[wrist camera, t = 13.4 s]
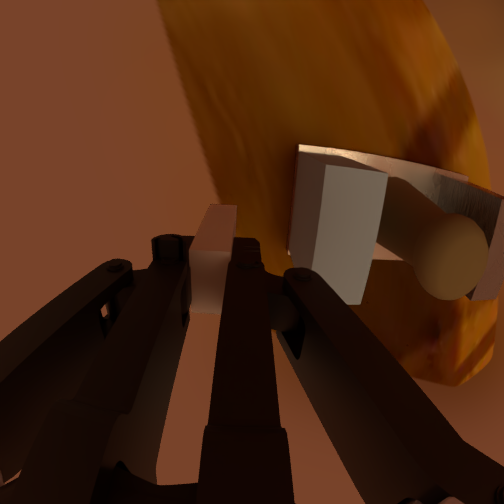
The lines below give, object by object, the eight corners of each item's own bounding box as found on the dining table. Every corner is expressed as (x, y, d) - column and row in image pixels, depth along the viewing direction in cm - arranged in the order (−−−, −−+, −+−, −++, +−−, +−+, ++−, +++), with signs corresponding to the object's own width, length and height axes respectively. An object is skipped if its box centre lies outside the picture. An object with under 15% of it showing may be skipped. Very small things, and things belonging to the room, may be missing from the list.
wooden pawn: (426, 222, 23) (504, 280, 13) (374, 256, 25) (435, 333, 15) (404, 164, 21) (494, 198, 11) (346, 198, 22) (414, 256, 12)
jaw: (298, 151, 21) (325, 164, 14) (342, 156, 21) (388, 173, 14) (288, 249, 24) (305, 304, 17) (329, 251, 24) (360, 304, 17)
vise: (296, 143, 22) (326, 154, 13) (461, 174, 22) (526, 200, 14) (286, 248, 25) (304, 311, 17) (442, 257, 26) (493, 304, 18)
